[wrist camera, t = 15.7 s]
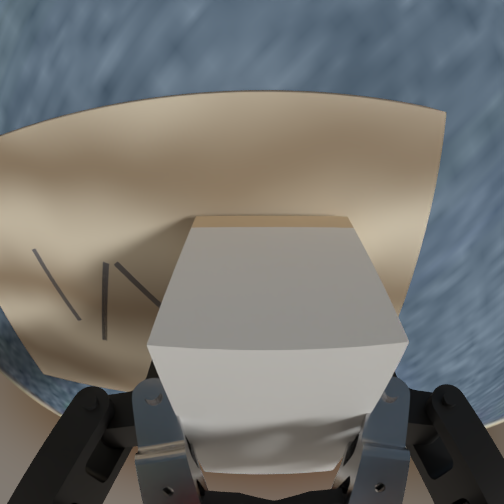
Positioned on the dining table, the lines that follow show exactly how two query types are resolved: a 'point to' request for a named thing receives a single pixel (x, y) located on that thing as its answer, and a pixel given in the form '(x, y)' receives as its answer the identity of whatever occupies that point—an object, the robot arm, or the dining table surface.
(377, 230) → the birch board
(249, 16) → the dining table surface
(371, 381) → the block
